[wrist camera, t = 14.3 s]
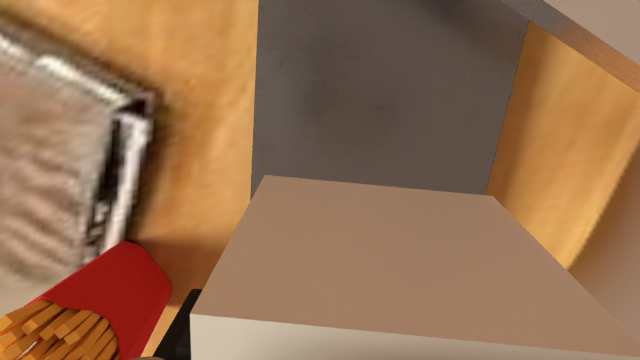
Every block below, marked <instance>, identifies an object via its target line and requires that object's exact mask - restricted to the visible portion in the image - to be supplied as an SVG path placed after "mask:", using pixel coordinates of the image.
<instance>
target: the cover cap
mask: <svg viewBox="0 0 640 360" xmlns="http://www.w3.org/2000/svg"><path fill="white" fill-rule="evenodd" d="M190 335H191V360H640V344H639V343H638V342H637V341H636V340H635V339H634V338H633V337H631V335H630V334H629V333H628V332H627V331H626V330H625V329H624V328H623V327H622V326H621V325H620V324H619V323H618V322H617V321H616V320H615V319H614V318H613V317H612V316H611V315H610V314H609V313H608V312H607V311H606V310H605V309H604V308H603V307H602V306H601V305H600V304H599V303H598V302H597V301H596V300H595V299H594V298H593V297H592V296H591V295H590V294H589V293H588V292H587V291H586V290H585V289H584V288H583V287H582V286H581V285H580V284H579V283H578V282H577V281H576V280H575V279H574V278H573V277H572V276H571V275H570V274H569V273H568V272H567V271H566V269H565V268H564V267H563V266H562V265H561V264H560V263H559V262H558V261H557V260H556V259H555V258H554V257H553V256H552V255H551V254H550V253H549V252H548V251H547V250H546V249H545V248H544V247H543V246H542V245H541V244H540V243H539V242H538V241H537V240H536V239H535V238H534V237H533V236H532V235H531V234H530V233H529V232H528V231H527V230H526V229H525V228H524V227H523V226H522V225H521V224H520V223H519V222H518V221H517V220H516V219H515V218H514V217H513V216H512V215H511V214H510V213H509V212H508V211H507V210H506V209H505V208H504V207H503V206H502V205H501V204H500V203H499V202H498V201H497V200H496V199H495V198H494V197H493V196H487V195H476V194H466V193H455V192H444V191H433V190H422V189H412V188H401V187H390V186H379V185H368V184H358V183H347V182H336V181H325V180H314V179H304V178H293V177H282V176H271V175H264V177H263V179H262V181H261V183H260V185H259V186H258V188H257V190H256V192H255V194H254V196H253V198H252V199H251V201H250V203H249V205H248V207H247V209H246V211H245V212H244V214H243V216H242V218H241V220H240V222H239V224H238V225H237V227H236V229H235V231H234V233H233V235H232V236H231V238H230V240H229V242H228V244H227V246H226V248H225V249H224V251H223V253H222V255H221V257H220V259H219V261H218V262H217V264H216V266H215V268H214V270H213V272H212V274H211V275H210V277H209V279H208V281H207V283H206V285H205V287H204V288H203V290H202V292H201V294H200V296H199V298H198V300H197V301H196V303H195V305H194V307H193V309H192V311H191V313H190Z"/></svg>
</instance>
